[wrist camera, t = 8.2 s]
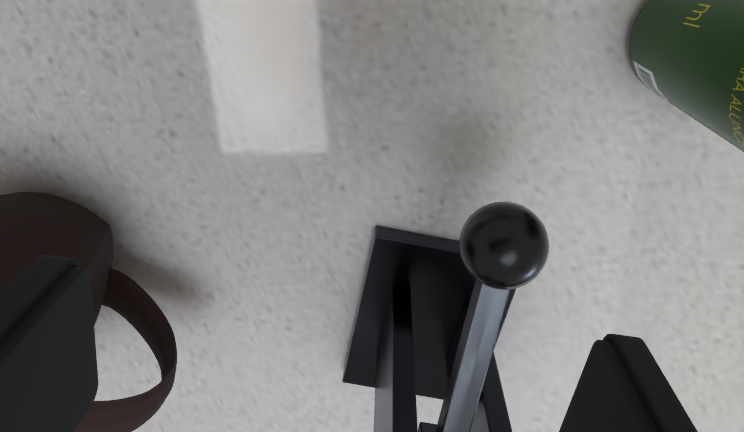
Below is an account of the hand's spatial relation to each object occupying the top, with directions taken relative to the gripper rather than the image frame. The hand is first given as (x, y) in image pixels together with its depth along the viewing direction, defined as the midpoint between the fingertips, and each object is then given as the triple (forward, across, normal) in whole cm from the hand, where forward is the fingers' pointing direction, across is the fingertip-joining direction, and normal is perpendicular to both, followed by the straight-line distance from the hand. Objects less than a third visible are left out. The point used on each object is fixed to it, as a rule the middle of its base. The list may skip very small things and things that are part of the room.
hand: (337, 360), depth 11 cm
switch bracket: (+20, -5, +12) cm, 24 cm away
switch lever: (+11, -5, +8) cm, 15 cm away
